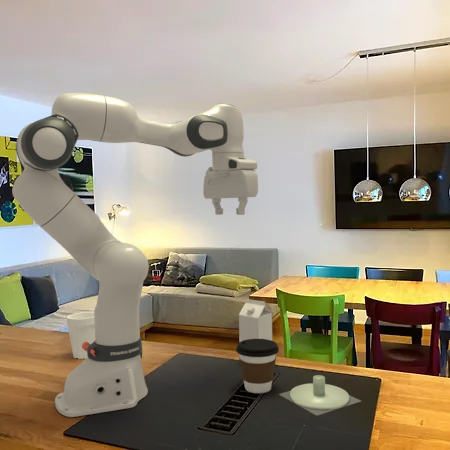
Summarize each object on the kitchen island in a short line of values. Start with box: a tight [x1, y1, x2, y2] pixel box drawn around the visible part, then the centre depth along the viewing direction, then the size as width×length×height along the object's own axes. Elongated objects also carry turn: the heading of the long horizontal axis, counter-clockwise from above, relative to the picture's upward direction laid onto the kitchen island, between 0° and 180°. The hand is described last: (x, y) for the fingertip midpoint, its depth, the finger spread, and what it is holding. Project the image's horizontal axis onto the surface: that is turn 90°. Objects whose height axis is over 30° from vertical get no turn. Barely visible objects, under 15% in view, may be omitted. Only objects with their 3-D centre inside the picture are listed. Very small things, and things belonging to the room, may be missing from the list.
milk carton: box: [238, 298, 273, 343], centre depth 140 cm, size 7×7×19 cm
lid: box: [289, 374, 350, 411], centre depth 113 cm, size 14×14×5 cm
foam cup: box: [66, 311, 95, 360], centre depth 151 cm, size 10×9×13 cm
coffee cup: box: [235, 339, 280, 394], centre depth 120 cm, size 11×11×12 cm
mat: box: [278, 390, 362, 417], centre depth 114 cm, size 14×14×1 cm
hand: (229, 214), depth 130 cm, fingers open, 8 cm apart
